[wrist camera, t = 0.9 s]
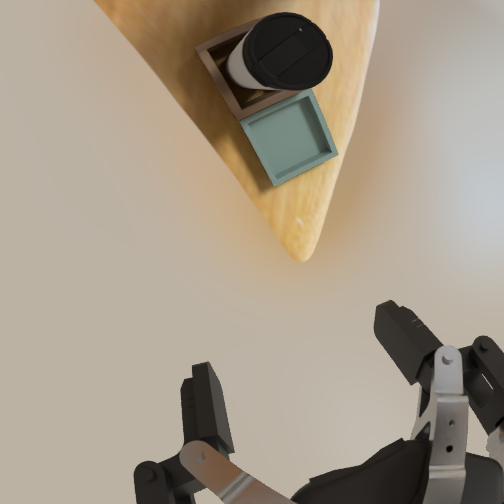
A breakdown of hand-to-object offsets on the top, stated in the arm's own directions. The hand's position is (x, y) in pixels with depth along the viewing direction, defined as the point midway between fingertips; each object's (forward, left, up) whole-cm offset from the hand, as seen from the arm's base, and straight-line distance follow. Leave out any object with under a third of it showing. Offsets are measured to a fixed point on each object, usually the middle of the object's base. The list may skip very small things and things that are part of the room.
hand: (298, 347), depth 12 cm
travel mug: (-10, +8, -32) cm, 34 cm away
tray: (+1, +9, -31) cm, 33 cm away
